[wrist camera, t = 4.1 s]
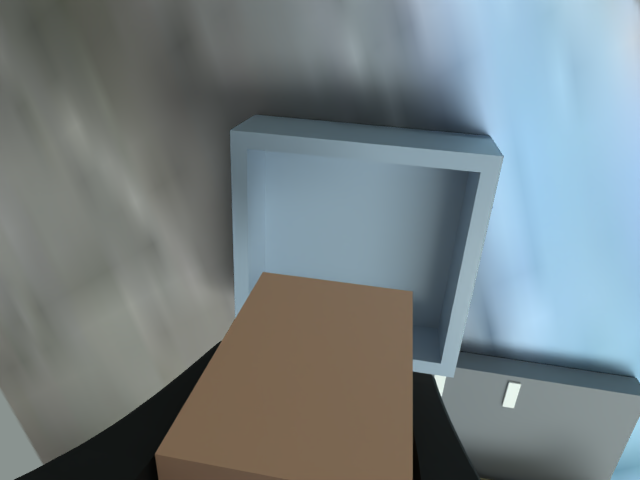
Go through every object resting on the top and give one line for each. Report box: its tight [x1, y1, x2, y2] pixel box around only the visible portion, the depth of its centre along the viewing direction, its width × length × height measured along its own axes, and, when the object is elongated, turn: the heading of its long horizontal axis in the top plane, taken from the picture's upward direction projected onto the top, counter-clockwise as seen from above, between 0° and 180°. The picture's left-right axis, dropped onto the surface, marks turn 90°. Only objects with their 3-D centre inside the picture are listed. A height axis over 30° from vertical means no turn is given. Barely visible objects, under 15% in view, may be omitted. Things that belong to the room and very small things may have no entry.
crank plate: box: [413, 351, 640, 480], centre depth 25 cm, size 14×14×1 cm
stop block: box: [155, 272, 413, 480], centre depth 11 cm, size 4×4×6 cm
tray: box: [230, 115, 504, 378], centre depth 19 cm, size 9×9×3 cm
